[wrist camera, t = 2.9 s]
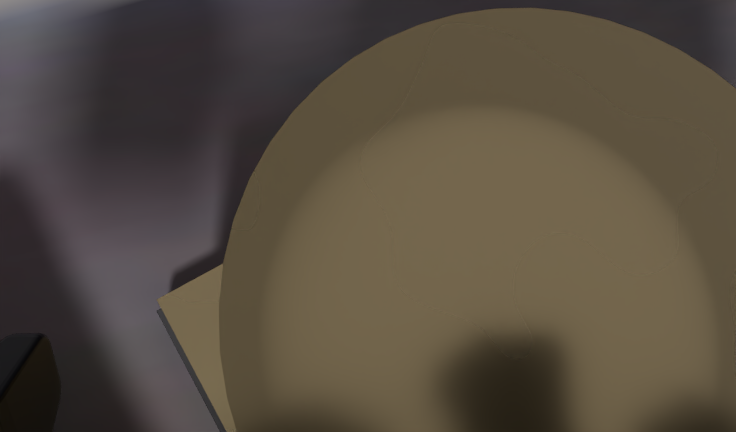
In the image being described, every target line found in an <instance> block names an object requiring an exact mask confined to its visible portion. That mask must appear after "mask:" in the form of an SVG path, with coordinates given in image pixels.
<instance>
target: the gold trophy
mask: <svg viewBox="0 0 736 432" xmlns="http://www.w3.org/2000/svg"><path fill="white" fill-rule="evenodd" d="M157 301H158V303H159V305H160V307H161V309H162V311H163V312H164V314H165V316H166V318H167V320H168V322H169V324H170V326H171V328H172V329H173V331H174V333H175V335H176V337H177V339H178V341H179V343H180V345H181V346H182V348H183V350H184V352H185V354H186V356H187V358H188V360H189V362H190V364H191V365H192V367H193V369H194V371H195V373H196V375H197V377H198V379H199V381H200V382H201V384H202V386H203V388H204V390H205V392H206V394H207V396H208V398H209V399H210V401H211V403H212V405H213V407H214V409H215V411H216V413H217V415H218V416H219V418H220V420H221V422H222V424H223V426H224V428H225V430H226V432H736V88H734V87H733V86H732V85H731V84H729V83H728V82H727V81H726V80H724V79H723V78H722V77H720V76H719V75H718V74H717V73H715V72H714V71H713V70H711V69H710V68H708V67H707V66H705V65H703V64H702V63H700V62H699V61H697V60H695V59H694V58H692V57H691V56H689V55H687V54H686V53H684V52H683V51H681V50H679V49H677V48H675V47H673V46H671V45H669V44H667V43H665V42H663V41H661V40H659V39H657V38H654V37H652V36H650V35H648V34H646V33H644V32H641V31H638V30H635V29H633V28H630V27H627V26H624V25H621V24H618V23H615V22H612V21H609V20H606V19H602V18H597V17H593V16H588V15H584V14H579V13H574V12H570V11H560V10H550V9H540V8H495V9H488V10H481V11H474V12H467V13H460V14H455V15H451V16H448V17H444V18H440V19H437V20H433V21H430V22H426V23H422V24H419V25H417V26H415V27H412V28H410V29H407V30H405V31H403V32H400V33H398V34H396V35H393V36H391V37H388V38H386V39H384V40H383V41H381V42H379V43H377V44H376V45H374V46H372V47H371V48H369V49H367V50H365V51H364V52H362V53H360V54H358V55H357V56H355V57H353V58H352V59H351V60H349V61H348V62H347V63H345V64H344V65H343V66H342V67H340V68H339V69H338V70H336V71H335V72H334V73H333V74H331V75H330V76H329V77H327V78H326V79H325V80H324V81H322V82H321V83H320V84H319V85H318V86H317V87H316V88H315V89H314V90H313V91H312V92H311V93H310V94H309V95H308V96H307V97H306V98H305V99H304V100H303V101H302V103H301V104H300V105H299V106H298V107H297V108H296V109H295V110H294V111H293V112H292V113H291V115H290V116H289V118H288V119H287V120H286V122H285V123H284V124H283V126H282V127H281V128H280V130H279V131H278V132H277V134H276V135H275V136H274V138H273V139H272V140H271V142H270V143H269V145H268V147H267V148H266V150H265V152H264V154H263V156H262V157H261V159H260V161H259V163H258V165H257V166H256V168H255V170H254V172H253V173H252V175H251V177H250V179H249V181H248V184H247V187H246V189H245V192H244V194H243V197H242V199H241V202H240V204H239V207H238V209H237V212H236V215H235V217H234V220H233V224H232V229H231V233H230V237H229V241H228V245H227V249H226V253H225V257H224V261H223V264H221V265H219V266H218V267H216V268H214V269H212V270H210V271H208V272H207V273H205V274H203V275H201V276H199V277H197V278H196V279H194V280H192V281H190V282H188V283H186V284H185V285H183V286H181V287H179V288H177V289H175V290H174V291H172V292H170V293H168V294H166V295H164V296H163V297H161V298H159V299H157Z"/></svg>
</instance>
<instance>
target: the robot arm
mask: <svg viewBox="0 0 736 432" xmlns="http://www.w3.org/2000/svg"><path fill="white" fill-rule="evenodd" d="M60 395H61V381H60V377H59V373H58V370H57V366H56V362H55V359H54V355H53V351H52V348H51V344H50V341H49V339H48V338H47V336H46V335H44V334H42V333H21V334H11V335H9V336H7V337H6V338H4V339H3V340H1V341H0V432H52V431H53V427H54V423H55V418H56V414H57V410H58V405H59V401H60Z"/></svg>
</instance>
